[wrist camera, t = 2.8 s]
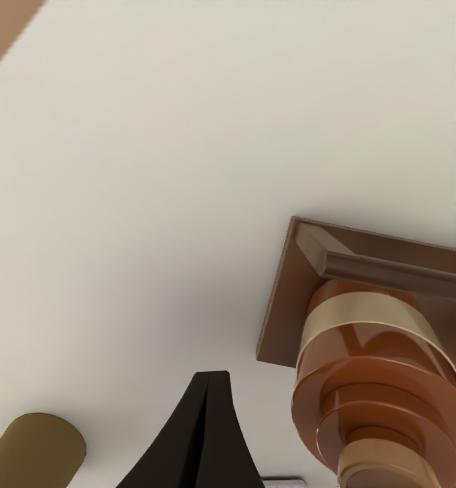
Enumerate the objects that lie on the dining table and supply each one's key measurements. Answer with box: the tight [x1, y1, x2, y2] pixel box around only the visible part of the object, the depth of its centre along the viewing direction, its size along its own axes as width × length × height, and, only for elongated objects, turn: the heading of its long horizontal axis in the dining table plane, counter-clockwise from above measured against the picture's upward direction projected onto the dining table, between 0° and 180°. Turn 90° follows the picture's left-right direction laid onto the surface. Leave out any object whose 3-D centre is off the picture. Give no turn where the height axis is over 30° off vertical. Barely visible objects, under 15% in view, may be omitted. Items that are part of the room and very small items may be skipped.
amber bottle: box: [291, 279, 456, 488], centre depth 11 cm, size 6×6×8 cm
